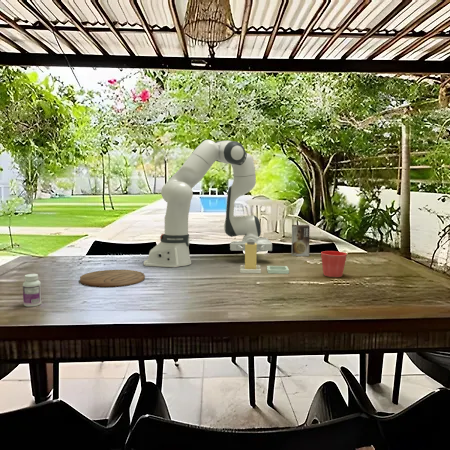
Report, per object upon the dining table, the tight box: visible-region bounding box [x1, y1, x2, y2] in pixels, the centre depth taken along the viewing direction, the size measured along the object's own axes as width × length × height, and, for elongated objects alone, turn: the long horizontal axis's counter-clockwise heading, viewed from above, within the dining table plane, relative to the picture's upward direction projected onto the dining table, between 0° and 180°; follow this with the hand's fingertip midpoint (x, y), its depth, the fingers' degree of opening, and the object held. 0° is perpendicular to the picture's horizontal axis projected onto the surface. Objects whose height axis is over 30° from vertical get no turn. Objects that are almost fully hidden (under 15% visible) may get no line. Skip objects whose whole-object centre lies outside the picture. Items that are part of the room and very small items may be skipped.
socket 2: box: [266, 265, 290, 275], centre depth 194 cm, size 9×9×2 cm
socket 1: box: [239, 264, 262, 274], centre depth 195 cm, size 9×9×2 cm
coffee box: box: [291, 224, 311, 257], centre depth 236 cm, size 9×6×16 cm
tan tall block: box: [244, 241, 258, 269], centre depth 194 cm, size 5×5×13 cm
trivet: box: [79, 269, 146, 288], centre depth 176 cm, size 25×25×2 cm
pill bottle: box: [22, 273, 43, 308], centre depth 140 cm, size 5×5×10 cm
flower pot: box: [320, 250, 348, 278], centre depth 187 cm, size 11×11×10 cm
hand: (251, 248), depth 206 cm, fingers open, 8 cm apart
